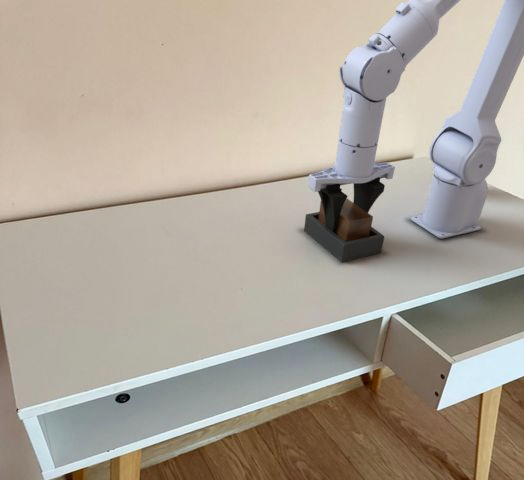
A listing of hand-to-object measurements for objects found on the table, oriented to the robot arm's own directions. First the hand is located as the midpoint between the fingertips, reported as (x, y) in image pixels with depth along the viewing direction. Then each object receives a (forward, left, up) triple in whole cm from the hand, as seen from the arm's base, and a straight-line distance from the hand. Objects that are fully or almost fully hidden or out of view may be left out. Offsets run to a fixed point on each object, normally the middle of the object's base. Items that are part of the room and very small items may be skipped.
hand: (343, 226), depth 89 cm
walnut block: (0, 0, -1) cm, 1 cm away
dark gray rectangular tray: (0, 0, -3) cm, 3 cm away
